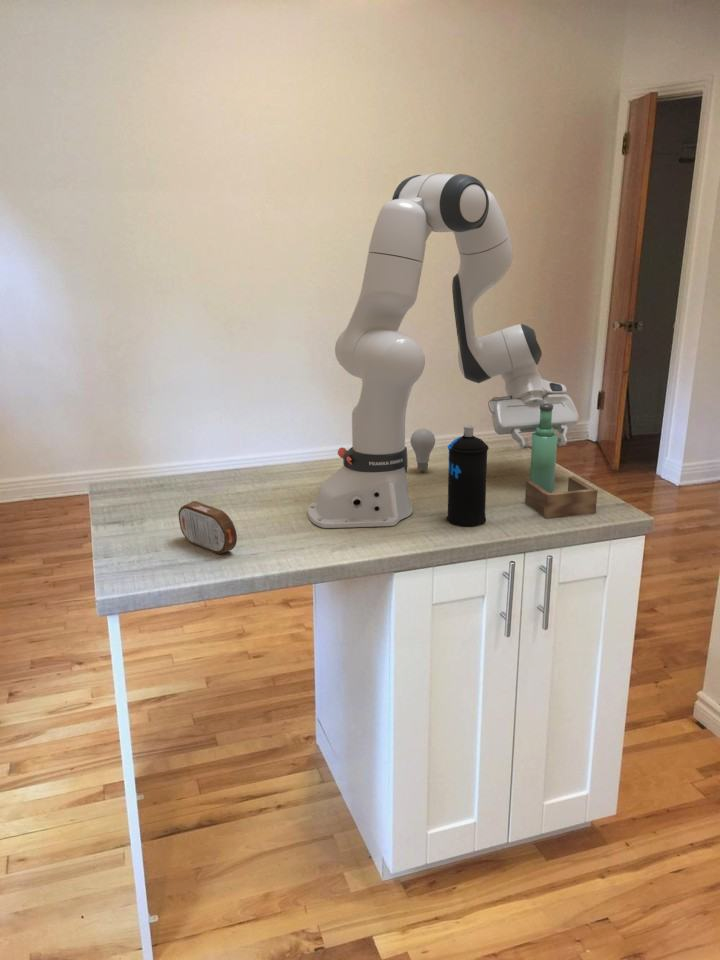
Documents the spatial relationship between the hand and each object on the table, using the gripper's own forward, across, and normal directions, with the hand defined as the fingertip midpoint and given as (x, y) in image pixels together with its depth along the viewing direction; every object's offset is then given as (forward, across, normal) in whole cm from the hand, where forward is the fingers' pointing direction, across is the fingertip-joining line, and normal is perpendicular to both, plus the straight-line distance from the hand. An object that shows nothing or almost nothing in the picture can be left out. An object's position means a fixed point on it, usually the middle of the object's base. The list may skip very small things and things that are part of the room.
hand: (544, 445), depth 179 cm
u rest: (+16, -2, -1) cm, 16 cm away
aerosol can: (+17, -24, -2) cm, 30 cm away
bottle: (+7, 0, +7) cm, 10 cm away
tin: (+17, -77, -2) cm, 79 cm away
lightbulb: (-7, -22, +22) cm, 32 cm away
